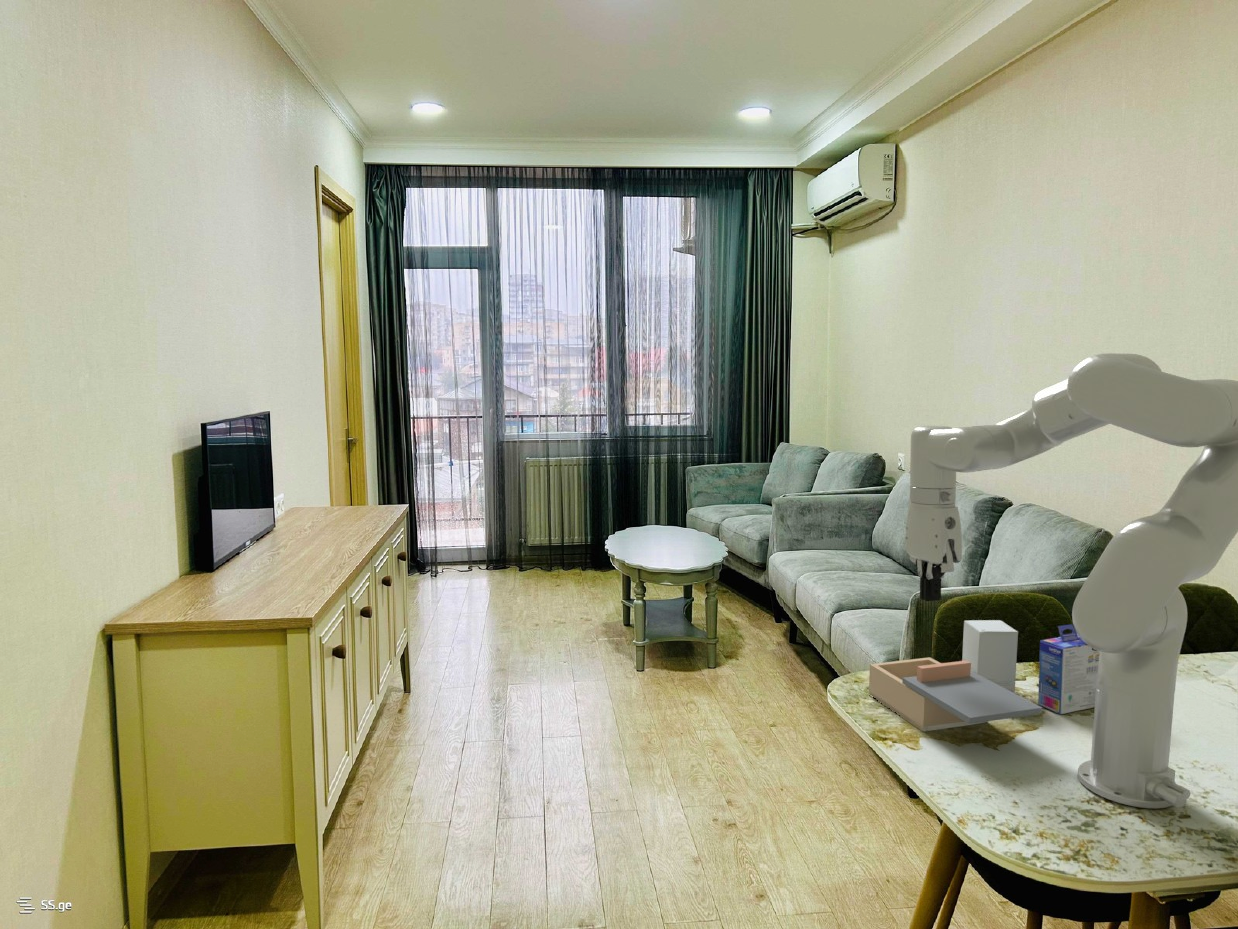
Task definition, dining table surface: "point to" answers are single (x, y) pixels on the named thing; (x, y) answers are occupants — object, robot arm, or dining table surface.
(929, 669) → the lid
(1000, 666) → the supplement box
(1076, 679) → the ink cartridge box
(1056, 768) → the dining table surface
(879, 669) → the box
